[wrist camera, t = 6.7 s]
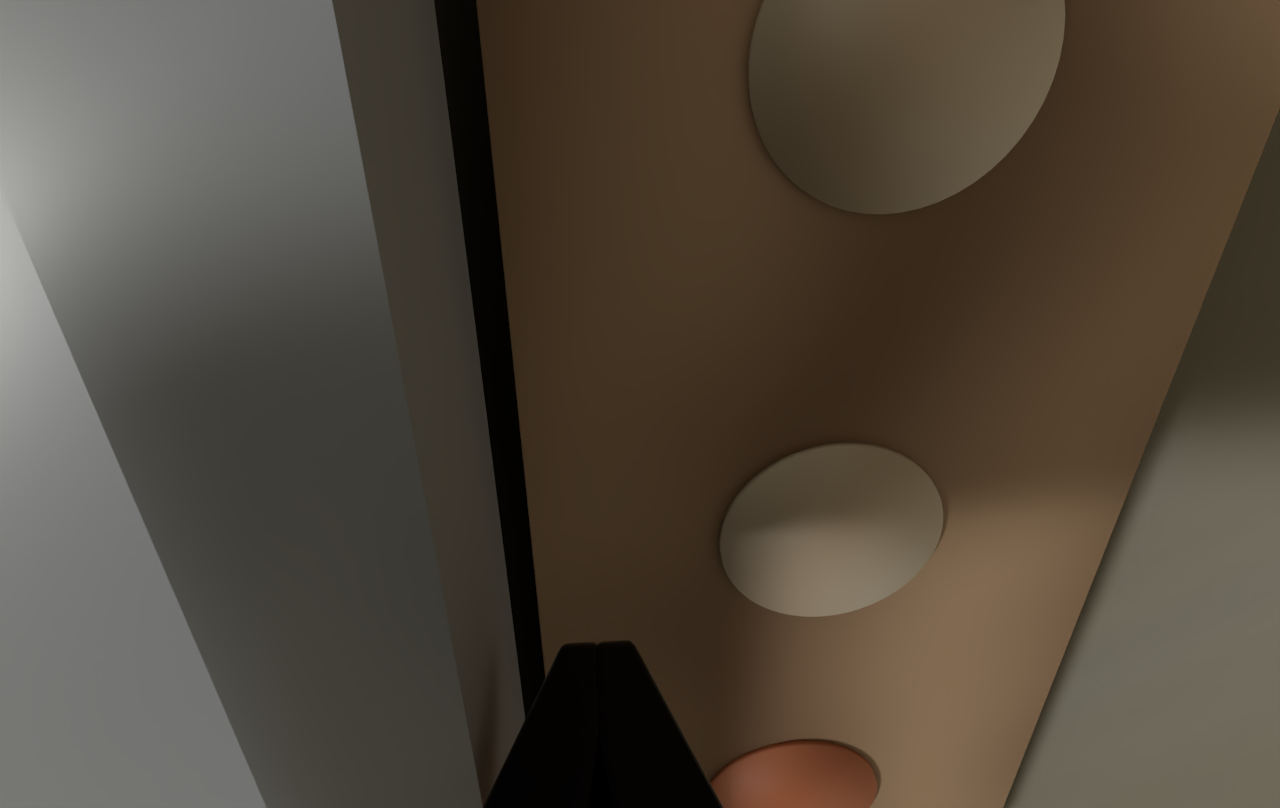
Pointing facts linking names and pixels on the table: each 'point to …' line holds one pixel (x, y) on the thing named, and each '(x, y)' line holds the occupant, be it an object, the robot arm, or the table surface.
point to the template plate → (853, 347)
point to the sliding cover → (241, 416)
